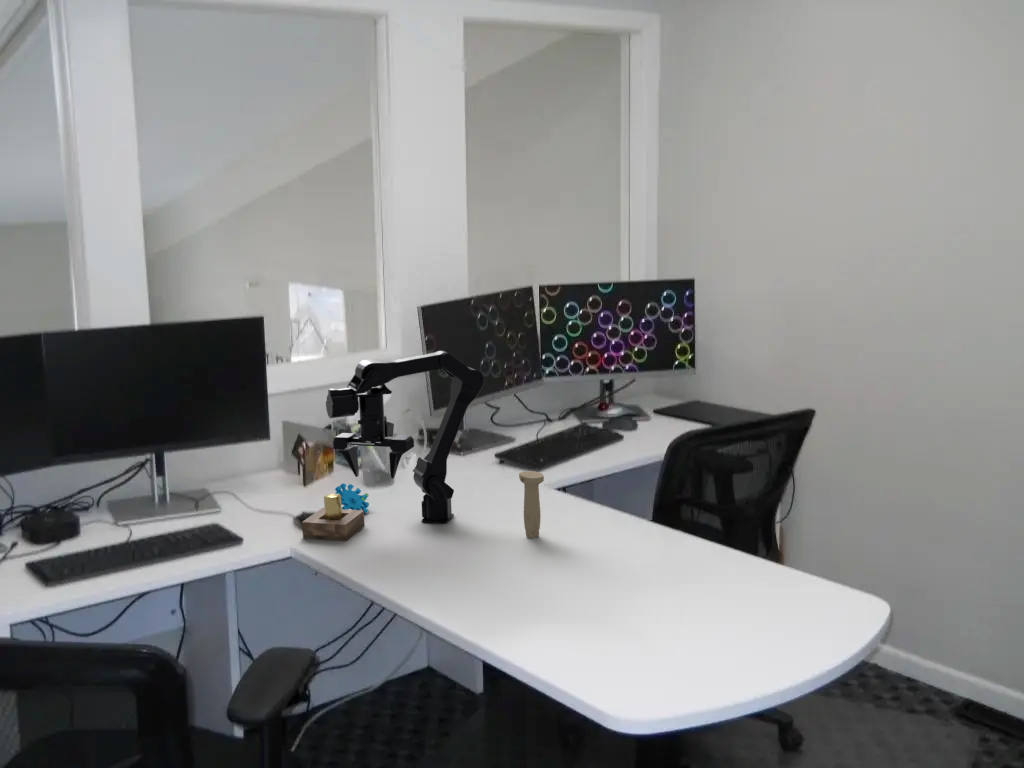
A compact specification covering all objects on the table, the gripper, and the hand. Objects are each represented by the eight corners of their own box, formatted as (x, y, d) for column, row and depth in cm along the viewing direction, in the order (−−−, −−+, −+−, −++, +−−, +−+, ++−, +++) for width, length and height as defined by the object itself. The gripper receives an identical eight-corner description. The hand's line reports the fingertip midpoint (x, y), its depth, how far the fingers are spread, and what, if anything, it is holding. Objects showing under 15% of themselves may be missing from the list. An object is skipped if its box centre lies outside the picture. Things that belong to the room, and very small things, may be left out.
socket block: (364, 526, 244) (363, 510, 243) (346, 541, 234) (345, 524, 233) (323, 523, 247) (322, 508, 246) (303, 538, 236) (302, 522, 236)
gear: (349, 516, 247) (330, 483, 251) (336, 530, 250) (317, 497, 253) (379, 510, 256) (361, 479, 260) (367, 523, 259) (348, 492, 262)
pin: (345, 526, 241) (343, 494, 240) (338, 531, 238) (336, 499, 236) (330, 525, 242) (328, 493, 241) (322, 530, 239) (321, 498, 237)
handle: (531, 542, 230) (530, 479, 227) (516, 534, 235) (515, 473, 233) (548, 538, 233) (547, 475, 230) (533, 530, 238) (532, 469, 235)
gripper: (420, 407, 242) (423, 470, 245) (349, 405, 246) (352, 466, 249) (404, 417, 231) (407, 482, 234) (329, 415, 236) (333, 478, 239)
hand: (374, 477), depth 239 cm, fingers open, 9 cm apart
